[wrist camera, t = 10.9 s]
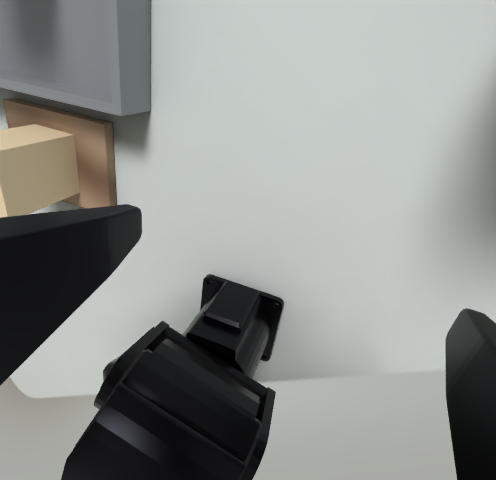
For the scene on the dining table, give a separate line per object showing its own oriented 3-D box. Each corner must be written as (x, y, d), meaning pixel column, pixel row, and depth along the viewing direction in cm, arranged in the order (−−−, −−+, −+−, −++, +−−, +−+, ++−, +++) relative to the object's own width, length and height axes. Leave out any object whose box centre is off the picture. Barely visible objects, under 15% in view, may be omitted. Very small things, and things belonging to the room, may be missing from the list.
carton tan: (80, 192, 26) (7, 222, 21) (44, 181, 27) (-34, 207, 22) (73, 134, 24) (-9, 152, 19) (35, 124, 25) (-55, 138, 20)
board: (117, 212, 27) (110, 216, 26) (28, 184, 29) (20, 187, 28) (112, 122, 24) (104, 124, 23) (12, 98, 26) (2, 99, 25)
